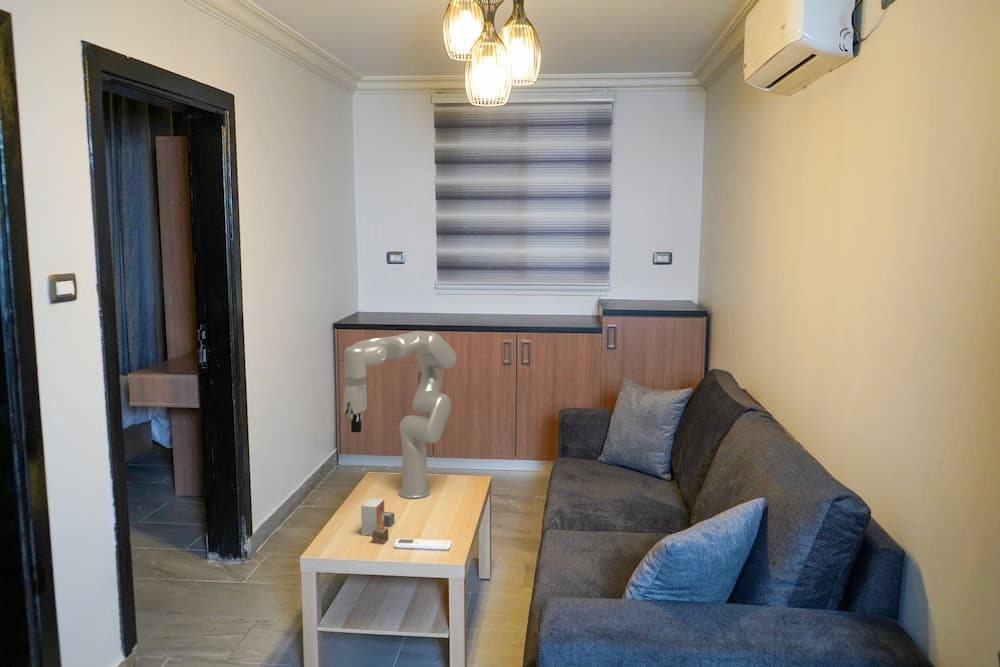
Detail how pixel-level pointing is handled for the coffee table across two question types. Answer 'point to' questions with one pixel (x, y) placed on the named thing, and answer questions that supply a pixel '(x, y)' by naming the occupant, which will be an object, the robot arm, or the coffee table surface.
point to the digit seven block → (380, 535)
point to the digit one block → (388, 519)
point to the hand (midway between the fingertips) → (356, 431)
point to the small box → (372, 515)
